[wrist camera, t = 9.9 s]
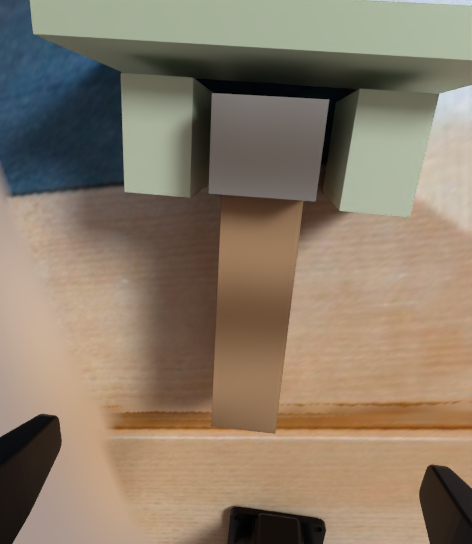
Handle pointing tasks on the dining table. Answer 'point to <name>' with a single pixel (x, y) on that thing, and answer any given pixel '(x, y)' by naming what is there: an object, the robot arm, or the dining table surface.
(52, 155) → the dining table surface
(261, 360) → the hammer
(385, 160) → the pale green slab
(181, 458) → the dining table surface
